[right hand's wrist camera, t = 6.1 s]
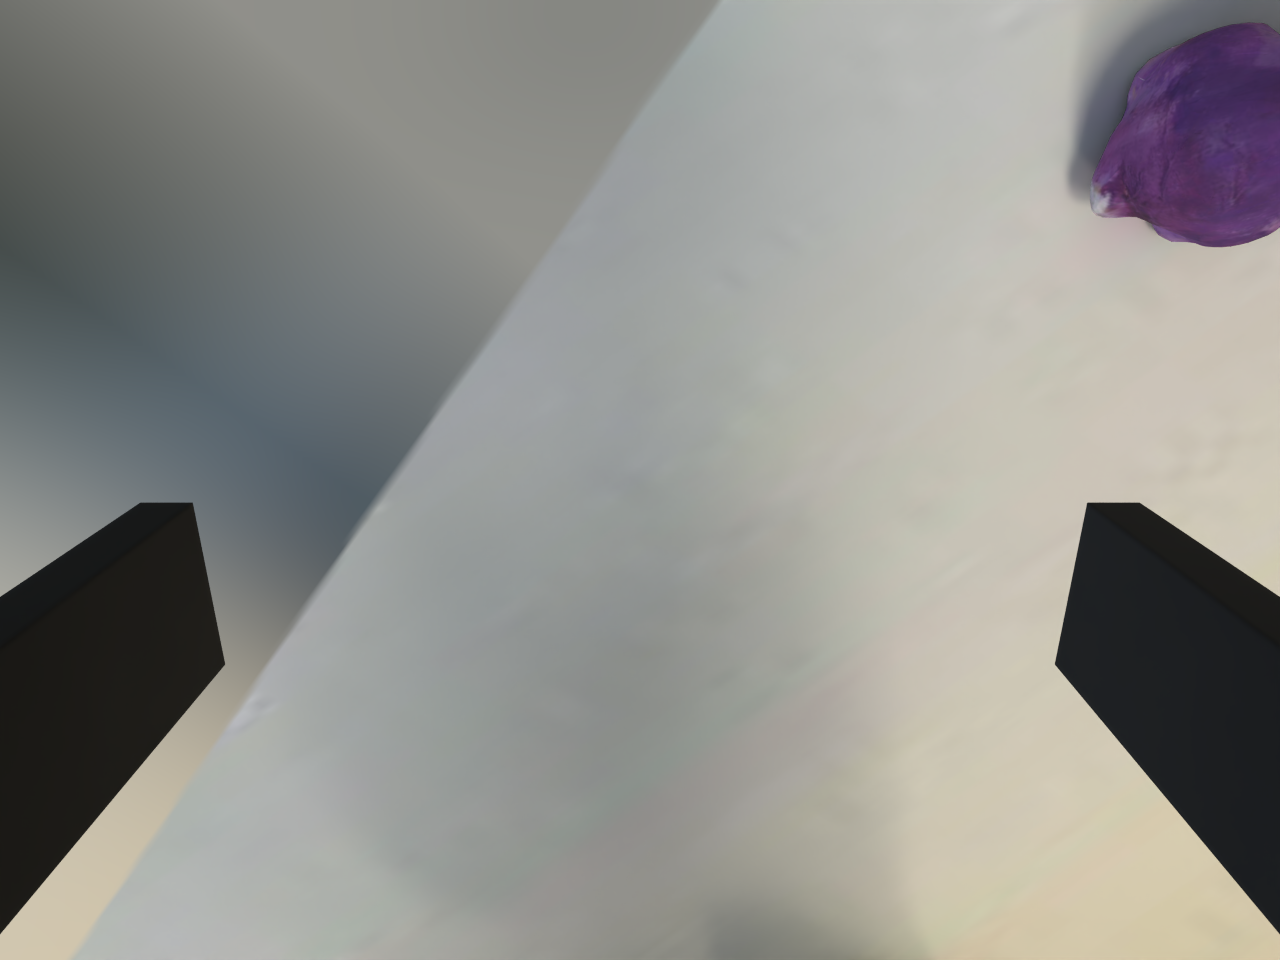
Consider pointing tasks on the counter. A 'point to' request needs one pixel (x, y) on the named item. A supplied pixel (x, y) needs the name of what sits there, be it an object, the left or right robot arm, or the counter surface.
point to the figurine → (1200, 141)
